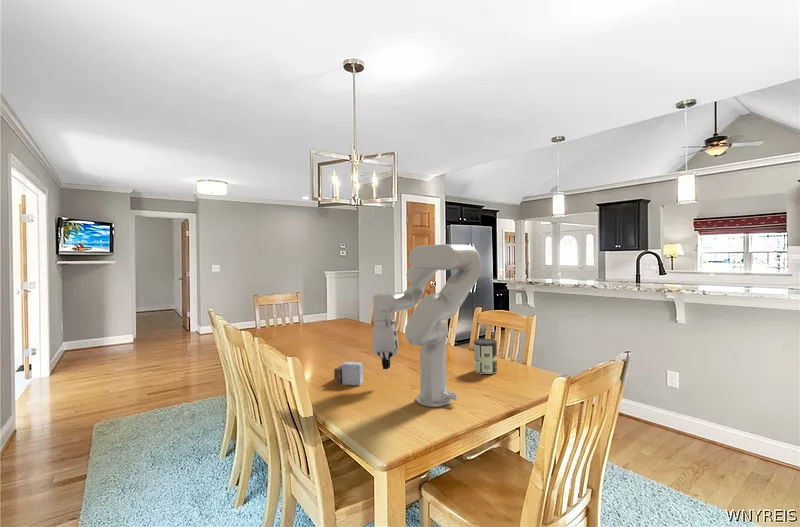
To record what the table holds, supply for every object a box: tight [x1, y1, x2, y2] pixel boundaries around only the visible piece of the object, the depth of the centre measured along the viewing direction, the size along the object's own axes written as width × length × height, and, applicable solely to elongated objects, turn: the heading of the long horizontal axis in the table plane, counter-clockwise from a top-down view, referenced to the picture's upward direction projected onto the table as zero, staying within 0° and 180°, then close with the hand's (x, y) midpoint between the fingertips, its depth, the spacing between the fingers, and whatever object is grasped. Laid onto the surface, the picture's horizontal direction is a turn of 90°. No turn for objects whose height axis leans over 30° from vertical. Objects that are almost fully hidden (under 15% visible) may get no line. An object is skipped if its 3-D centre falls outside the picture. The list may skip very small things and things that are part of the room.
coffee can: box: [473, 338, 498, 375], centre depth 178 cm, size 10×10×14 cm
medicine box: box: [341, 361, 364, 387], centre depth 165 cm, size 8×4×9 cm, turn 79°
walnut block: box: [333, 365, 342, 385], centre depth 171 cm, size 3×12×6 cm, turn 155°
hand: (386, 368), depth 160 cm, fingers closed
